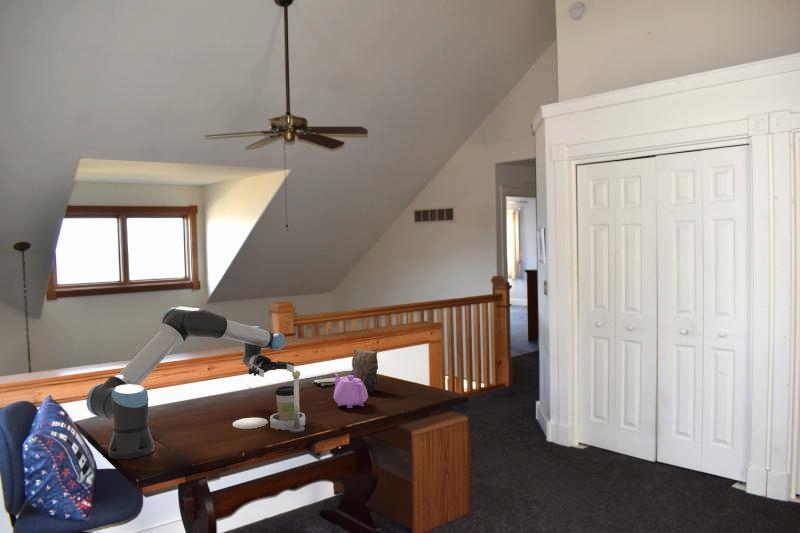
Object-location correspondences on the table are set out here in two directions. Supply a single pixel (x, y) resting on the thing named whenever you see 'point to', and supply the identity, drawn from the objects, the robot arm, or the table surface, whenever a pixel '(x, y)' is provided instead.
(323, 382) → the newspaper
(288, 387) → the coffee cup
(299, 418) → the ring stand
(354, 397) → the teapot
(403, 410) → the table surface
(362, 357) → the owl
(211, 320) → the robot arm
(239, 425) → the cream pad
